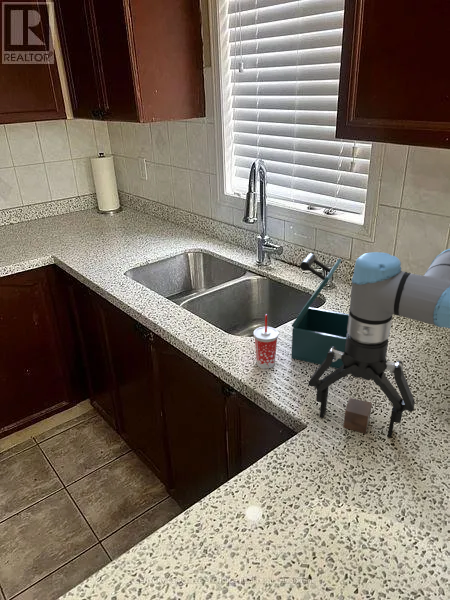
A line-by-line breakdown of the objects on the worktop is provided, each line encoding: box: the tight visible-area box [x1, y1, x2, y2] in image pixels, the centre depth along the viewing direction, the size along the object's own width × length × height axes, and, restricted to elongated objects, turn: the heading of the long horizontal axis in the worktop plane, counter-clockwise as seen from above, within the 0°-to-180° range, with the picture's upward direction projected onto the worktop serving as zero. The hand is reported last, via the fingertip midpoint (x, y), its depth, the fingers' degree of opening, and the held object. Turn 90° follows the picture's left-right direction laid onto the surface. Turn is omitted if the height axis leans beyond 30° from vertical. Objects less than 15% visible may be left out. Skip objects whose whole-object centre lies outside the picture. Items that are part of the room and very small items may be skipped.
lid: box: [291, 253, 342, 329], centre depth 111 cm, size 16×13×8 cm
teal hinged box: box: [290, 306, 349, 370], centre depth 114 cm, size 16×13×9 cm
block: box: [342, 397, 373, 435], centre depth 91 cm, size 4×4×4 cm
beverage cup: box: [253, 313, 280, 370], centre depth 109 cm, size 6×6×14 cm
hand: (355, 422), depth 92 cm, fingers open, 13 cm apart
